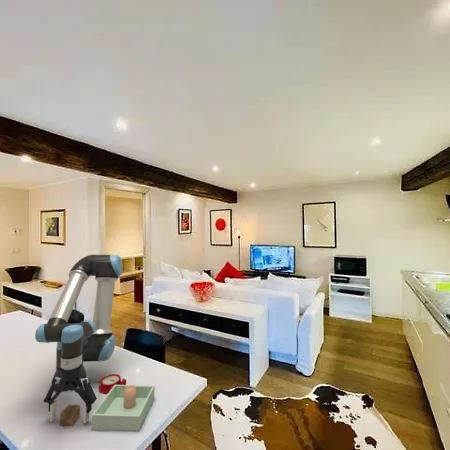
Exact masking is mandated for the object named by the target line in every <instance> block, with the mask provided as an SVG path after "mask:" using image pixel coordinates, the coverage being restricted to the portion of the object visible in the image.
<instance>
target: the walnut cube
mask: <svg viewBox="0 0 450 450" xmlns="http://www.w3.org/2000/svg"><path fill="white" fill-rule="evenodd" d="M80 418H81V405H78V404H68V405H67V406H65V408H64V409H63V410H62V411H61V412H60V414H59V427H68V426H69V427H70V426H72V428H73V427H74V426H75V424H76V423H77V422H78V421H79V419H80Z"/></svg>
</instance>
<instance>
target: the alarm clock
mask: <svg viewBox="0 0 450 450" xmlns="http://www.w3.org/2000/svg"><path fill="white" fill-rule="evenodd" d="M95 383H98V381H96V382H95ZM114 385H127V380H126V378H122V376H121V375H119V374H116V373H113V374H107V375H106V376H104V377H102V378H101V380H100V381H99V387H98V391H99V393H101V394H104V395H105V394H106V395H107V394H108V393H109V392H110V390H111V389H112V388H113V386H114Z"/></svg>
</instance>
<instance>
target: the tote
mask: <svg viewBox="0 0 450 450" xmlns="http://www.w3.org/2000/svg"><path fill="white" fill-rule="evenodd" d="M131 385H133V384H131ZM131 385H130V384H126V385H114V386H113V388H112V389H111V390H110V392H109V393H108V394H106V396H105V397H104V398H103V400H102V401H101V402H100V403H99V405H98V406H97V408H96V409H95V410H94V411H93V413H92V414H91V421H90V422H91V423H90V424H91V425H90V428H91V429H90V431H91V430H93V431H114V432H115V431H119V432H120V431H121V432H140V430H141V428H142V426H143V424H144V422H145V420H146V417H147V415H148V412H149V410H150V409H151V407H152V404H153V402H154V400H155V393H156V392H155V387H156V386H155V385H139V384H135V385H133V386H136V405H135V406H134V407H133V408H131V409H125V408H124V389H125V388H126V387H127V386H131Z"/></svg>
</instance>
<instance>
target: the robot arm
mask: <svg viewBox="0 0 450 450" xmlns="http://www.w3.org/2000/svg"><path fill="white" fill-rule="evenodd" d="M123 269H124V267H123V261H122V258H121V256H120V255H119V254H118V255H117V254H89V255H85V256H84V257H82V258H81V259H79V260H78V261H77V262H76V263H75V264H74V265H73V266H72V267H71V269H70V271H69V273H68V280H67V282H66V283H65V286H64V287H63V290H62V292H61V293H60V296H59V298H58V301H57V303H56V304H55V306H54V309H53V310H52V313H51V314H50V317H49V319H48V321H47V322H46V323H42V324H40V325H39V326H38V327H37V328H36V331H35V333H34V336H35V337H34V339H35V341H36V342H37V343H42V344H43V343H44V344H45V343H46V344H49V343H56V348H55V351H56V357H55V359H56V360H55V361H56V363H55V365H56V366H55V372H54V375H53V377H52V380H51V386H50V387H49V390H48V392H47V393H46V395H45V397H44V399H43V403H47V404H48V413H49V422H50V423H52V422H53V421H54V420H55V419H56V418H57V412H58V411H57V409H58V407H57V405H58V400H56V399H57V398H58V397H59V396H60V395H61V394H62V392H67V391H70V392H74V393H76V394H77V395H78V396H79V397H80V399H81V400H82V401H83V402H84V406H83V424H86V423H87V422H88V420H89V419H90V413H91V411H92V409H93V408H92V407H93V404H94V403H95V402H96V401H97V400H98V399H97V396H96V393H95V391H94V389H93V387H92V384H91V383H90V376H87V371H86V368H85V365H84V363H85V362H86V363H88V362H98V363H99V362H105V361H108V360H109V359H110V358H111V357H112V355H113V354H114V351H115V348H116V343H117V341H116V340H117V339H116V336H115V335H113V330H112V329H111V321H112V314H113V313H112V311H113V305H114V304H113V302H114V294H115V293H114V291H115V285H116V282H117V281H118V279H119V277H121V276H122V274H123ZM90 277H94V279H95V281H96V282H97V284H96V285H97V286H96V292H95V299H94V300H95V303H94V309H93V311H94V312H93V318H92V320H87V319H86V320H84V321H81V322H77V323H76V322H75V323H71V322H70V323H68V322H69V318H70V317H71V314H72V312H73V309H74V308H75V305H76V302H77V300H78V298H79V296H80V294H81V291H82V289H83V287H84V284H85V282H87V281H88V280H89V278H90ZM54 392H56V393H54ZM53 394H54V395H53Z"/></svg>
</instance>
